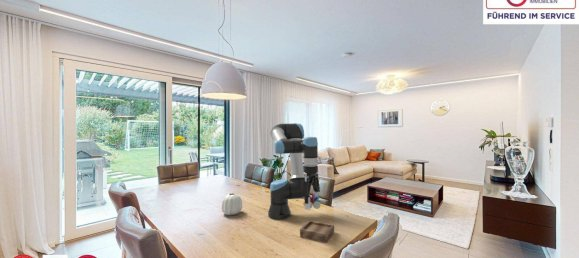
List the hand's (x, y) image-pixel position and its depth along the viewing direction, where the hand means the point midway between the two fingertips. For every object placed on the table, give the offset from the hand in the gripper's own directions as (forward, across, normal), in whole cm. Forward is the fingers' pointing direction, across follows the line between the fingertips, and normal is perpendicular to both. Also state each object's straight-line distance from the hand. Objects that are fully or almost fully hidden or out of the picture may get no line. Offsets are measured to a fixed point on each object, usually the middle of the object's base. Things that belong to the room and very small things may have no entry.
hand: (311, 206), depth 127 cm
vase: (+16, +5, +63) cm, 65 cm away
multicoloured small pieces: (+1, 0, 0) cm, 1 cm away
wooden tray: (+16, +3, -2) cm, 16 cm away
